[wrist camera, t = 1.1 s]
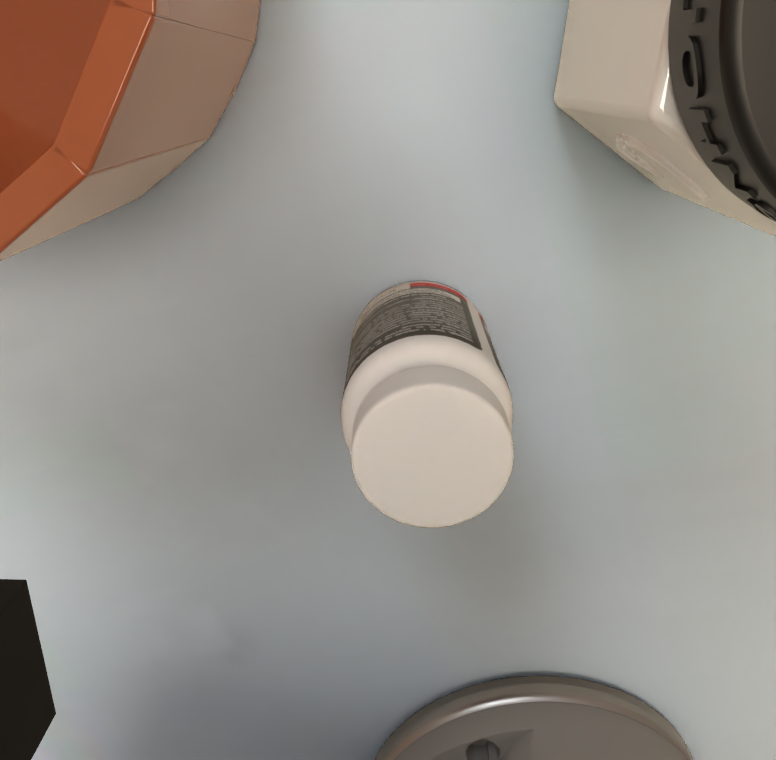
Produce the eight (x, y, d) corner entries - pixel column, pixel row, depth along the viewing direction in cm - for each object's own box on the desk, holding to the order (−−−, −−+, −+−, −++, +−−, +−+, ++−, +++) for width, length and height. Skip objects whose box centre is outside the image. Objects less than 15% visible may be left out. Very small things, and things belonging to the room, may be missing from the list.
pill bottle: (324, 343, 25) (291, 459, 18) (421, 249, 24) (432, 329, 16) (418, 430, 27) (426, 574, 19) (516, 345, 25) (567, 461, 18)
